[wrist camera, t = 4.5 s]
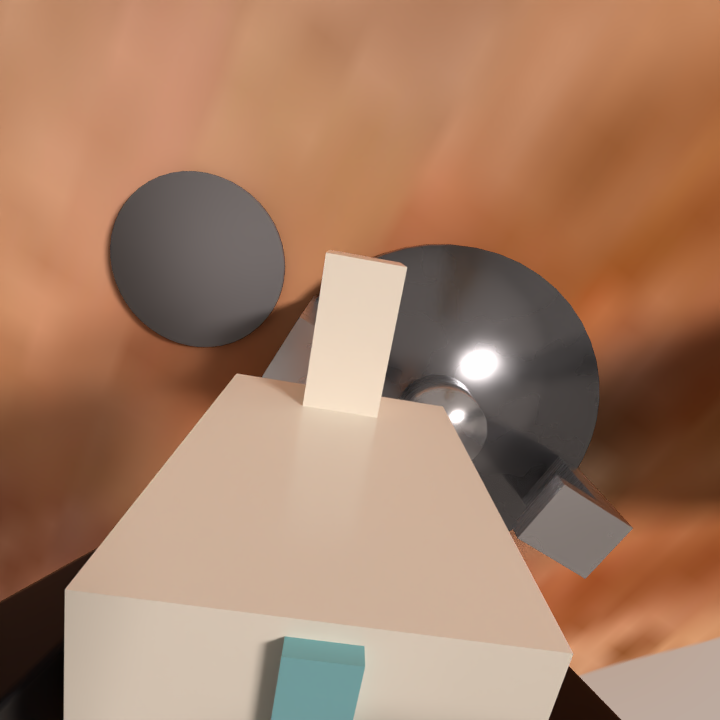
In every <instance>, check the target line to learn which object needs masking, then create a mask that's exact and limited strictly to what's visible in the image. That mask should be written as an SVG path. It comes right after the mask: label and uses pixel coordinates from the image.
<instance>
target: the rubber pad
mask: <svg viewBox="0 0 720 720" xmlns="http://www.w3.org/2000/svg"><path fill="white" fill-rule="evenodd" d="M110 258H111V265H112V271H113V274H114V278H115V281H116V284H117V286H118V289H119V291H120V293H121V295H122V297H123V298H124V300H125V302H126V303H127V305H128V306H129V307H130V309H131V310H132V312H133V313H134V314H135V315H136V316H137V317H138V318H139V319H140V320H141V321H142V322H143V323H144V324H145V325H147V326H148V327H149V328H150V329H152V330H153V331H155V332H156V333H158V334H159V335H161V336H163V337H165V338H167V339H169V340H172V341H175V342H177V343H181V344H185V345H189V346H196V347H214V346H221V345H225V344H229V343H232V342H235V341H237V340H239V339H242V338H243V337H245V336H247V335H248V334H250V333H251V332H252V331H254V330H255V329H256V328H257V327H259V326H260V325H261V324H262V323H263V322H264V320H265V319H266V318H267V317H268V316H269V314H270V313H271V312H272V310H273V309H274V307H275V305H276V303H277V301H278V299H279V296H280V293H281V291H282V287H283V282H284V275H285V257H284V251H283V246H282V242H281V239H280V236H279V233H278V231H277V229H276V226H275V224H274V222H273V221H272V219H271V218H270V216H269V214H268V213H267V211H266V210H265V209H264V208H263V206H262V205H261V204H260V203H259V202H258V201H257V200H256V199H255V198H254V197H253V196H252V195H251V194H249V193H248V192H247V191H246V190H244V189H243V188H241V187H240V186H238V185H236V184H235V183H233V182H231V181H229V180H226V179H224V178H221V177H219V176H216V175H212V174H208V173H203V172H196V171H181V172H174V173H169V174H166V175H163V176H159V177H157V178H155V179H153V180H151V181H149V182H147V183H146V184H144V185H143V186H141V187H140V188H139V189H138V190H137V191H136V192H134V193H133V194H132V195H131V196H130V198H129V199H128V200H127V201H126V203H125V204H124V205H123V207H122V209H121V211H120V212H119V214H118V217H117V219H116V221H115V224H114V228H113V232H112V236H111V245H110Z"/></svg>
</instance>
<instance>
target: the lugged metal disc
mask: <svg viewBox="0 0 720 720" xmlns="http://www.w3.org/2000/svg"><path fill="white" fill-rule="evenodd" d="M374 258H378V259H383V260H389V261H394V262H400V263H402V264H403V265H405V266H406V267H407V271H406V276H405V281H404V286H403V291H402V296H401V301H400V306H399V311H398V316H397V321H396V326H395V331H394V336H393V341H392V346H391V351H390V356H389V361H388V366H387V371H386V376H385V381H384V386H383V391H382V396H381V397H387V398H393V399H399V400H405V401H412V402H418V403H424V404H430V405H437V406H443V408H444V409H445V411H446V413H447V415H448V417H449V419H450V421H451V423H452V425H453V426H454V428H455V430H456V432H457V434H458V436H459V438H460V440H461V442H462V444H463V445H464V447H465V449H466V451H467V453H468V455H469V457H470V459H471V461H472V463H473V464H474V466H475V468H476V470H477V472H478V474H479V476H480V478H481V480H482V481H483V483H484V485H485V487H486V489H487V491H488V493H489V495H490V497H491V499H492V500H493V502H494V504H495V506H496V508H497V510H498V512H499V514H500V516H501V517H502V519H503V521H504V523H505V525H506V527H507V529H508V531H510V530H512V529H513V530H514V532H515V534H516V536H517V538H518V539H520V540H522V541H523V542H525V543H527V544H528V545H530V546H532V547H533V548H535V549H537V550H538V551H540V552H542V553H543V554H545V555H547V556H548V557H550V558H552V559H553V560H555V561H557V562H558V563H560V564H562V565H563V566H565V567H567V568H568V569H570V570H572V571H573V572H575V573H577V574H578V575H580V576H582V577H583V578H586V577H587V576H588V575H589V574H590V573H591V572H592V571H593V570H594V569H595V568H596V567H597V566H598V565H599V564H600V563H601V562H602V560H603V559H604V558H605V557H606V556H607V555H608V554H609V553H610V552H611V551H612V550H613V549H614V548H615V547H616V546H617V545H618V544H619V543H620V541H621V540H622V539H623V538H624V537H625V536H626V535H627V534H628V533H629V532H630V531H631V530H632V529H633V528H632V527H631V525H630V524H629V523H628V522H627V521H626V520H625V519H624V518H623V517H622V516H621V515H620V513H619V512H618V511H617V510H616V509H615V508H614V507H613V506H612V505H611V504H610V503H609V501H608V500H607V499H606V498H605V497H604V496H603V495H602V494H601V493H600V492H599V490H598V489H597V488H596V487H595V486H594V485H593V484H592V483H591V482H590V481H589V480H588V478H587V477H586V476H585V475H584V474H583V473H582V472H581V471H580V470H579V469H578V466H579V464H580V463H581V461H582V459H583V457H584V455H585V453H586V450H587V448H588V446H589V443H590V441H591V438H592V435H593V431H594V428H595V424H596V420H597V413H598V406H599V376H598V369H597V362H596V358H595V355H594V351H593V348H592V344H591V341H590V339H589V337H588V335H587V333H586V330H585V328H584V326H583V324H582V322H581V320H580V319H579V317H578V316H577V314H576V313H575V311H574V310H573V308H572V307H571V305H570V304H569V303H568V302H567V301H566V299H565V298H564V297H563V296H562V295H561V294H560V293H559V292H558V291H557V289H556V288H554V287H553V286H552V285H551V284H550V283H548V282H547V281H546V280H545V279H544V278H542V277H541V276H540V275H539V274H537V273H535V272H534V271H532V270H530V269H529V268H527V267H526V266H524V265H522V264H521V263H519V262H516V261H514V260H512V259H509V258H507V257H505V256H502V255H500V254H497V253H493V252H490V251H486V250H482V249H479V248H474V247H466V246H459V245H451V244H426V245H419V246H412V247H405V248H401V249H398V250H394V251H391V252H387V253H383V254H381V255H379V256H376V257H374ZM319 296H320V295H319ZM319 296H317V295H314V297H313V298H312V300H311V301H310V303H309V304H308V306H307V307H306V308H305V310H304V311H303V313H302V314H301V316H300V317H299V319H298V320H297V322H296V324H295V325H294V327H293V328H292V330H291V332H290V333H289V335H288V336H287V338H286V339H285V341H284V343H283V344H282V346H281V347H280V349H279V351H278V352H277V354H276V355H275V357H274V359H273V360H272V362H271V363H270V365H269V366H268V368H267V370H266V371H265V373H264V374H263V376H262V378H268V379H274V380H280V381H287V382H293V383H299V384H305V385H306V381H307V374H308V368H309V361H310V355H311V348H312V342H313V335H314V329H315V322H316V316H317V309H318V303H319Z"/></svg>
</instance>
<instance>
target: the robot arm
mask: <svg viewBox="0 0 720 720" xmlns="http://www.w3.org/2000/svg"><path fill="white" fill-rule="evenodd" d="M96 550H97V548H96V549H94V550H92V551H91V552H89V553H87V554H85V555H83V556H82V557H80V558H78V559H76V560H74V561H73V562H71V563H69V564H67V565H65V566H64V567H62V568H60V569H58V570H56V571H55V572H53V573H51V574H49V575H47V576H46V577H44V578H42V579H40V580H38V581H37V582H35V583H33V584H31V585H29V586H28V587H26V588H24V589H22V590H20V591H19V592H17V593H15V594H13V595H11V596H10V597H8V598H6V599H4V600H2V601H1V602H0V720H64V622H65V589H66V587H67V586H68V585H69V584H70V582H71V581H72V580H73V579H74V577H75V576H76V575H77V574H78V572H79V571H80V570H81V569H82V567H83V566H84V565H85V564H86V562H87V561H88V560H89V558H90V557H91V556H92V555H93V553H94V552H95V551H96ZM549 720H621V719H620V718H619V717H618V716H617V715H616V714H615V713H614V712H613V711H612V710H611V709H610V708H609V707H608V706H607V705H606V704H605V703H604V702H603V701H602V700H601V699H600V698H599V697H598V695H596V694H595V692H594V691H593V690H592V689H591V688H590V687H589V686H588V685H587V684H586V683H585V682H584V681H583V680H582V679H581V678H580V677H579V676H578V675H577V674H576V673H575V672H574V671H573V670H572V669H571V668H570V667H569V666H568V669H567V672H566V674H565V677H564V680H563V682H562V685H561V688H560V690H559V693H558V696H557V698H556V701H555V704H554V706H553V709H552V712H551V714H550V717H549Z"/></svg>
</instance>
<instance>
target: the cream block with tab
mask: <svg viewBox="0 0 720 720" xmlns="http://www.w3.org/2000/svg"><path fill="white" fill-rule="evenodd" d="M406 271H407V267H406V266H405V265H403V264H402V263H400V262H394V261H389V260H383V259H378V258H372V257H367V256H361V255H355V254H350V253H344V252H339V251H333V250H329V251H327V252H326V257H325V264H324V270H323V277H322V283H321V290H320V296H319V303H318V309H317V316H316V322H315V329H314V335H313V342H312V348H311V355H310V361H309V368H308V374H307V381H306V385H305V384H299V383H293V382H287V381H280V380H274V379H268V378H262V377H255V376H249V375H243V374H236V375H235V376H234V377H233V379H232V380H231V381H230V382H229V384H228V385H227V386H226V387H225V389H224V390H223V391H222V392H221V394H220V395H219V396H218V398H217V399H216V400H215V401H214V403H213V404H212V405H211V406H210V408H209V409H208V410H207V411H206V413H205V414H204V415H203V416H202V418H201V419H200V420H199V421H198V423H197V424H196V425H195V426H194V428H193V429H192V430H191V431H190V433H189V434H188V435H187V437H186V438H185V439H184V440H183V442H182V443H181V444H180V445H179V447H178V448H177V449H176V450H175V452H174V453H173V454H172V455H171V457H170V458H169V459H168V460H167V462H166V463H165V464H164V465H163V467H162V468H161V469H160V470H159V472H158V473H157V474H156V475H155V477H154V478H153V479H152V481H151V482H150V483H149V484H148V486H147V487H146V488H145V489H144V491H143V492H142V493H141V494H140V496H139V497H138V498H137V499H136V501H135V502H134V503H133V504H132V506H131V507H130V508H129V509H128V511H127V512H126V513H125V514H124V516H123V517H122V518H121V520H120V521H119V522H118V523H117V525H116V526H115V527H114V528H113V530H112V531H111V532H110V533H109V535H108V536H107V537H106V538H105V540H104V541H103V542H102V543H101V545H100V546H99V547H98V548H97V550H96V551H95V552H94V553H93V555H92V556H91V557H90V558H89V560H88V561H87V562H86V564H85V565H84V566H83V567H82V569H81V570H80V571H79V572H78V574H77V575H76V576H75V577H74V579H73V580H72V581H71V582H70V584H69V585H68V586H67V587H66V589H65V622H64V720H549V717H550V714H551V712H552V709H553V706H554V704H555V701H556V698H557V696H558V693H559V690H560V688H561V685H562V682H563V680H564V677H565V674H566V672H567V669H568V666H569V664H570V661H571V659H572V656H573V652H572V650H571V648H570V646H569V645H568V643H567V641H566V639H565V637H564V635H563V633H562V631H561V629H560V627H559V626H558V624H557V622H556V620H555V618H554V616H553V614H552V612H551V610H550V608H549V607H548V605H547V603H546V601H545V599H544V597H543V595H542V593H541V591H540V590H539V588H538V586H537V584H536V582H535V580H534V578H533V576H532V574H531V572H530V571H529V569H528V567H527V565H526V563H525V561H524V559H523V557H522V555H521V554H520V552H519V550H518V548H517V546H516V544H515V542H514V540H513V538H512V536H511V535H510V533H509V531H508V529H507V527H506V525H505V523H504V521H503V519H502V517H501V516H500V514H499V512H498V510H497V508H496V506H495V504H494V502H493V500H492V499H491V497H490V495H489V493H488V491H487V489H486V487H485V485H484V483H483V481H482V480H481V478H480V476H479V474H478V472H477V470H476V468H475V466H474V464H473V463H472V461H471V459H470V457H469V455H468V453H467V451H466V449H465V447H464V445H463V444H462V442H461V440H460V438H459V436H458V434H457V432H456V430H455V428H454V426H453V425H452V423H451V421H450V419H449V417H448V415H447V413H446V411H445V409H444V408H443V406H437V405H430V404H424V403H418V402H412V401H405V400H399V399H393V398H387V397H381V396H382V391H383V386H384V381H385V376H386V371H387V366H388V361H389V356H390V351H391V346H392V341H393V336H394V331H395V326H396V321H397V316H398V311H399V306H400V301H401V296H402V291H403V286H404V281H405V276H406Z"/></svg>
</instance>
